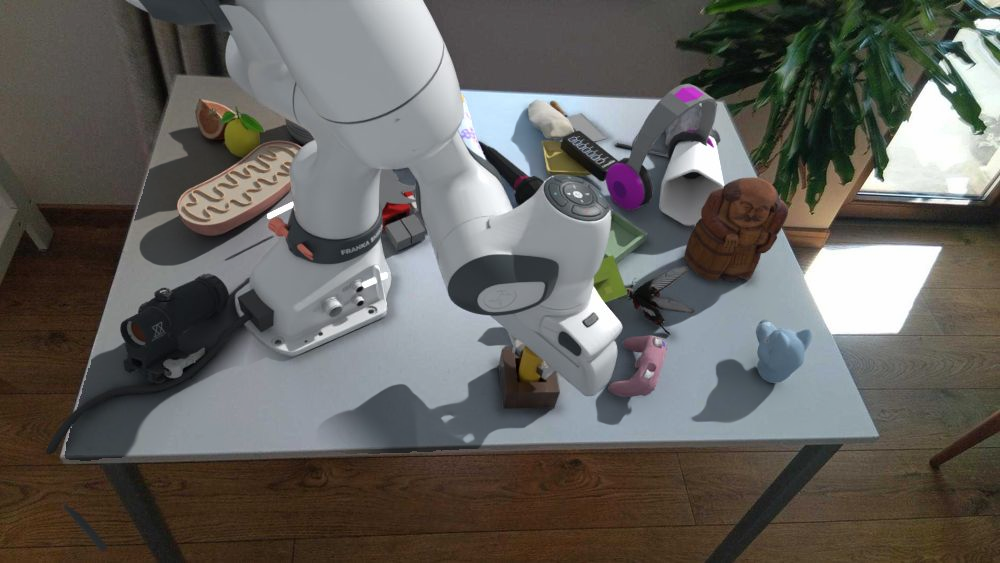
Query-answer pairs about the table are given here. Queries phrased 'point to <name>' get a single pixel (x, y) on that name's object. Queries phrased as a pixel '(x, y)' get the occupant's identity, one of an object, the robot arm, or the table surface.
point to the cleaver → (581, 124)
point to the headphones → (629, 175)
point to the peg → (529, 366)
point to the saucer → (561, 161)
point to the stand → (525, 386)
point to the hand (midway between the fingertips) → (532, 363)
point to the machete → (648, 152)
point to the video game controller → (642, 366)
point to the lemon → (241, 133)
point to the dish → (623, 237)
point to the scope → (170, 327)
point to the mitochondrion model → (239, 190)
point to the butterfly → (657, 296)
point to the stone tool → (549, 120)
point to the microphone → (512, 175)
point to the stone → (688, 125)
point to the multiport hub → (588, 154)
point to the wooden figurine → (735, 229)
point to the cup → (690, 181)
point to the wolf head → (780, 351)
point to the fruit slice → (211, 119)
